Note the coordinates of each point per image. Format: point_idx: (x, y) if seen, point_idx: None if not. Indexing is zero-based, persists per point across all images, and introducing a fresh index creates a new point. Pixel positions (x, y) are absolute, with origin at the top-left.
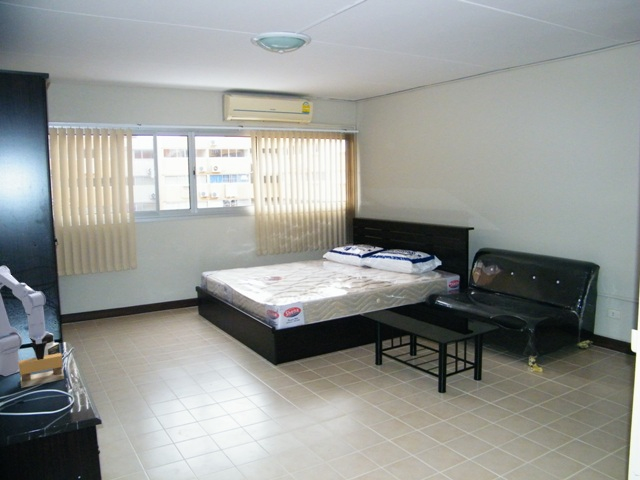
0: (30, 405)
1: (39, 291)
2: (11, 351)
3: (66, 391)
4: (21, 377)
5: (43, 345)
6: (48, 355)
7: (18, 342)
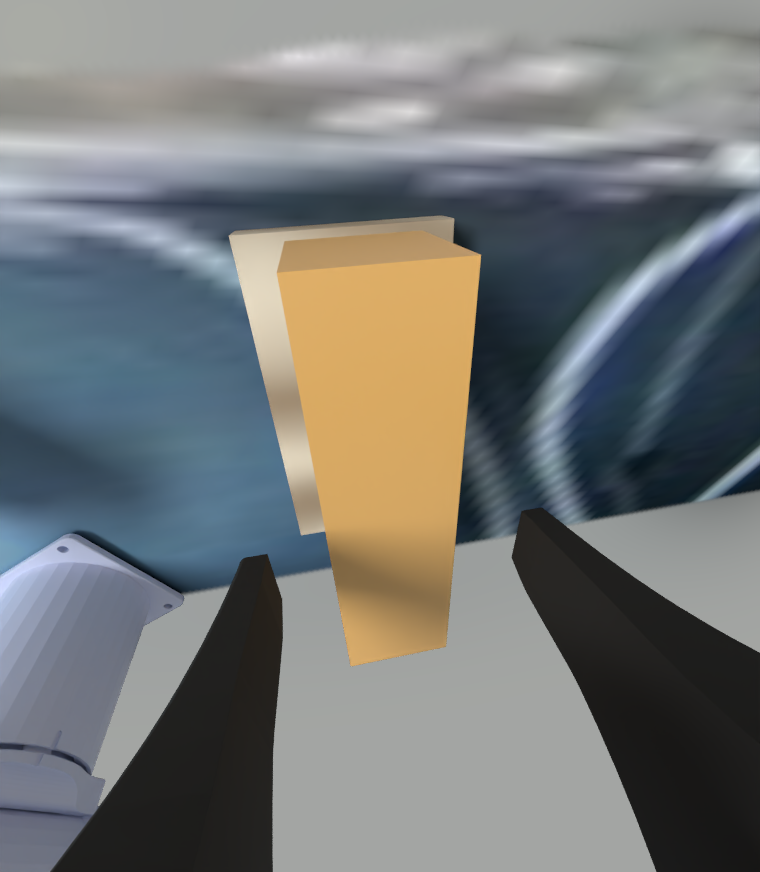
0: (724, 418)
1: None
2: (44, 771)
3: (734, 202)
4: (310, 529)
5: None
6: (329, 462)
7: None
